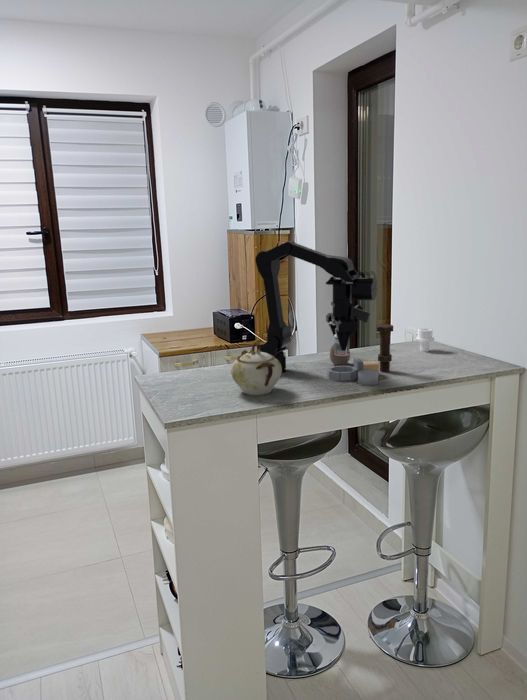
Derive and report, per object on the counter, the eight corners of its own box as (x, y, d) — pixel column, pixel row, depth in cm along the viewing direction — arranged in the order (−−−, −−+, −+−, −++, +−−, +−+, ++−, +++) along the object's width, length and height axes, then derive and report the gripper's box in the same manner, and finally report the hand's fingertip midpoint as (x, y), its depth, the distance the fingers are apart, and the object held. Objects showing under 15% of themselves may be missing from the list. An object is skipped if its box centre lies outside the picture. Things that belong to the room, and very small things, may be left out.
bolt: (392, 373, 189) (393, 327, 185) (376, 373, 190) (377, 327, 186) (392, 368, 194) (393, 324, 191) (376, 368, 195) (377, 324, 192)
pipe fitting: (421, 347, 223) (422, 327, 221) (437, 350, 218) (438, 329, 216) (411, 350, 219) (411, 329, 217) (427, 353, 214) (427, 331, 212)
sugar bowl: (295, 395, 169) (294, 344, 165) (247, 404, 162) (245, 351, 159) (265, 380, 186) (264, 333, 183) (221, 386, 180) (219, 338, 177)
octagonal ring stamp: (331, 381, 182) (331, 365, 181) (325, 374, 191) (325, 358, 189) (381, 378, 183) (381, 362, 182) (372, 371, 192) (372, 355, 191)
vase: (327, 366, 200) (327, 341, 198) (332, 361, 207) (331, 337, 205) (348, 367, 198) (348, 341, 196) (351, 362, 205) (351, 337, 203)
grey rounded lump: (360, 386, 176) (360, 374, 175) (355, 380, 182) (355, 369, 181) (380, 385, 177) (380, 373, 176) (374, 379, 183) (374, 368, 182)
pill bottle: (343, 352, 188) (343, 326, 186) (352, 355, 184) (352, 328, 182) (331, 354, 186) (331, 328, 184) (340, 357, 182) (340, 330, 180)
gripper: (376, 302, 173) (375, 354, 176) (359, 294, 191) (359, 341, 195) (339, 304, 172) (338, 356, 175) (325, 295, 190) (325, 343, 193)
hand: (341, 348), depth 185 cm, fingers closed on pill bottle, 5 cm apart
